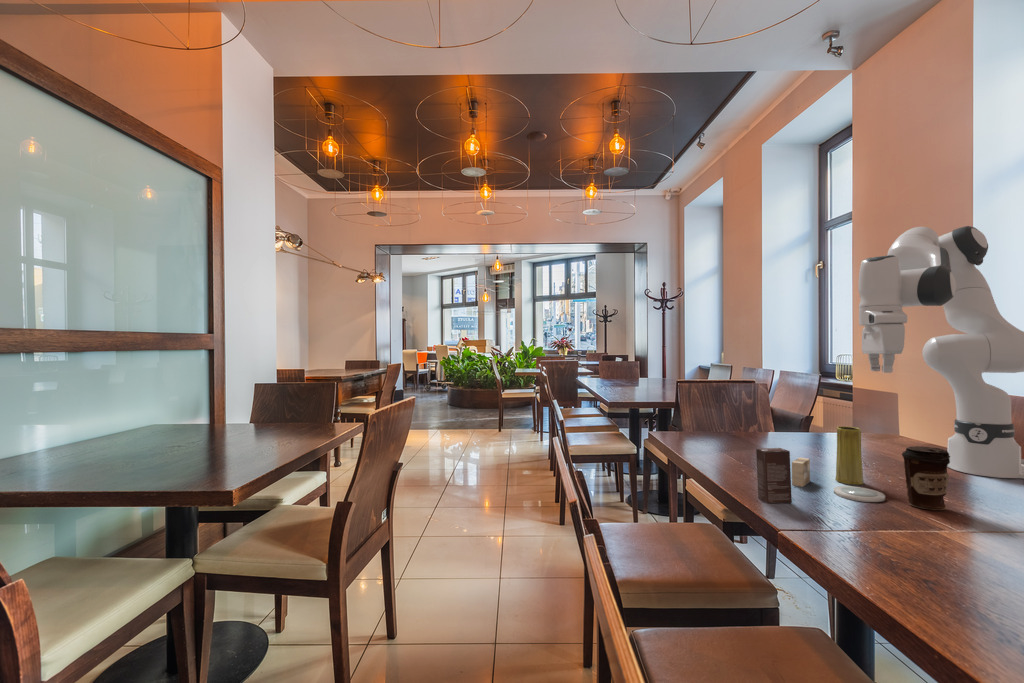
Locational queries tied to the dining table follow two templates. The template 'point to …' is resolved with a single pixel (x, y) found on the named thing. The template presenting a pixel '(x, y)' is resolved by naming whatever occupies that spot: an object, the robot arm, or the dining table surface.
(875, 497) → the coaster
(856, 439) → the vase
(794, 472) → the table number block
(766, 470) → the box
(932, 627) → the dining table surface
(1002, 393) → the robot arm
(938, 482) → the coffee cup
